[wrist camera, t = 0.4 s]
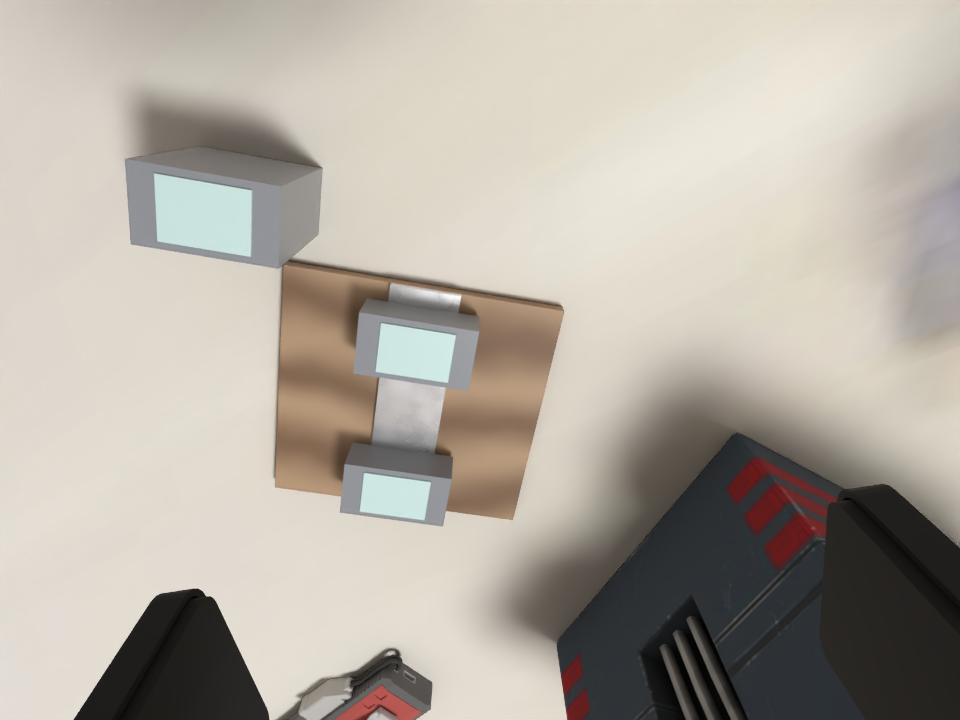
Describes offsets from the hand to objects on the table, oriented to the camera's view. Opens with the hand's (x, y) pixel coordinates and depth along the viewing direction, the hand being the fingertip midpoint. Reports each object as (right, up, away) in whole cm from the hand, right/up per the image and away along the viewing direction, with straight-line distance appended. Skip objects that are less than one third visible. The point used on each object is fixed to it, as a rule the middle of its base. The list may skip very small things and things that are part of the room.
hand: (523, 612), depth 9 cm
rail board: (-6, +1, +37) cm, 38 cm away
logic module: (-15, +15, +31) cm, 38 cm away
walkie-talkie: (-14, -32, +52) cm, 63 cm away
